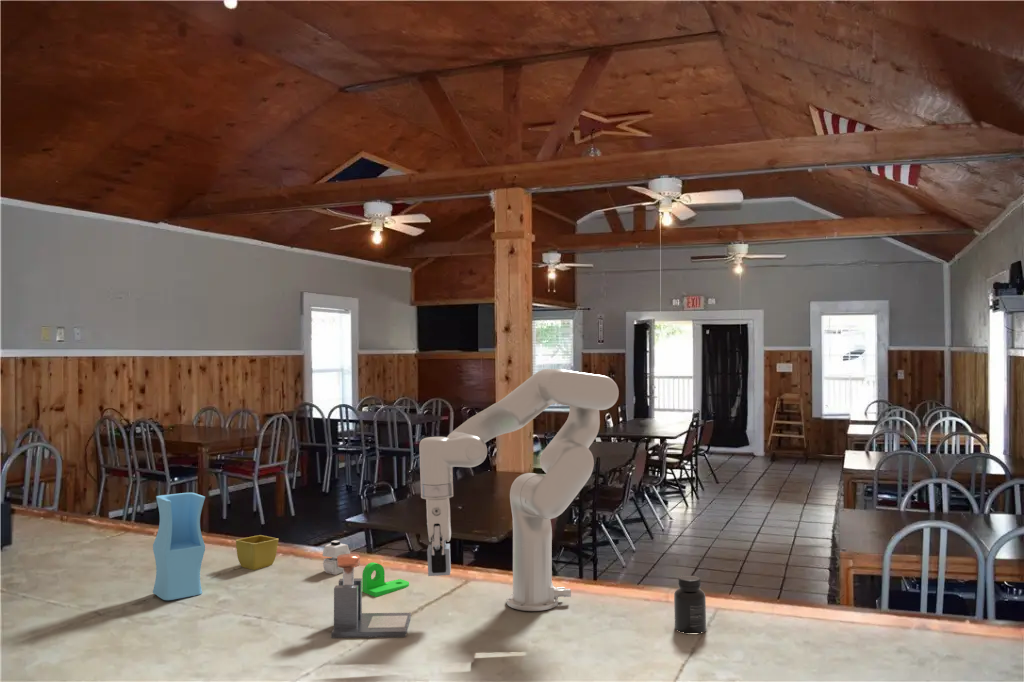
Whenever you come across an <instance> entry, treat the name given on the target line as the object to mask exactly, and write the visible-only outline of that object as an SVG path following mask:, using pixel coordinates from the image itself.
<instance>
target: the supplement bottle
mask: <svg viewBox="0 0 1024 682" xmlns="http://www.w3.org/2000/svg"><path fill="white" fill-rule="evenodd" d="M677 587H679V588H677V589H676V590H675V592H674V594H673V600H674V601H673V602H674V603H673V604H674V606H673V607H674V629H675V631H677V630H678V631H680V632H684V633H701V632H704V631H705V630H706V631H707V613H706V612H707V611H706V610H707V607H706V604H707V601H706V594H705V592H704V591H703V590H702V589H701V587H702V584H701V578H700V577H698V576H695V575H681V576H679V577H678V585H677ZM678 631H677V632H678ZM706 631H705V632H706ZM680 632H679V633H680ZM705 632H704V633H705Z"/></svg>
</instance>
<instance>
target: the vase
mask: <svg viewBox="0 0 1024 682" xmlns="http://www.w3.org/2000/svg"><path fill="white" fill-rule="evenodd" d="M155 498H156V503H157V506H158V512H159V523H158V524H159V525H158V529H157V534H156V537H155V539H154V541H153V543H152V550H153V555H154V561H155V570H156V571H155V572H156V573H155V581H154V585H153V589H152V594H154V595H156V596H157V597H158V598H160V599H161V600H164V601H173V600H177V599H178V600H179V599H184V598H189V597H194V596H200V595H201V594H203V590H202V585H201V584H202V583H201V568H202V563H203V559H204V554H205V551H206V544H205V541H204V537H203V534H202V531H201V514H202V511H203V506H204V502H205V499H206V496H204V495H201V494H198V493H196V492H182V493H181V492H180V493H171V494H161V495H156V496H155Z"/></svg>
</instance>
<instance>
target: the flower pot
mask: <svg viewBox="0 0 1024 682" xmlns="http://www.w3.org/2000/svg"><path fill="white" fill-rule="evenodd" d="M278 544H279V538H276V537H272V536H267V535H262V534H259V535H254V536H249V537H244V538H243V537H242V538H238V539H235V546H236V547H235V548H236V556H237V559H238V563H239V564H240V566H241V568H244V569H248V570H250V571H251V570H252V571H256V570H260V569H263V568H266V567H269V566H273V564H274V562H275V559H276V557H277V551H278Z"/></svg>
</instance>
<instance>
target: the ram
mask: <svg viewBox="0 0 1024 682" xmlns="http://www.w3.org/2000/svg"><path fill="white" fill-rule="evenodd" d="M360 559H361V557H360V554H358V553H350V554H342V555H339V556H337V567H340V568H343V572H342V579H343V585H354V579H355V576H354V575H355V568H357V567H359V566H360V565H361V563H360V561H361V560H360Z"/></svg>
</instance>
